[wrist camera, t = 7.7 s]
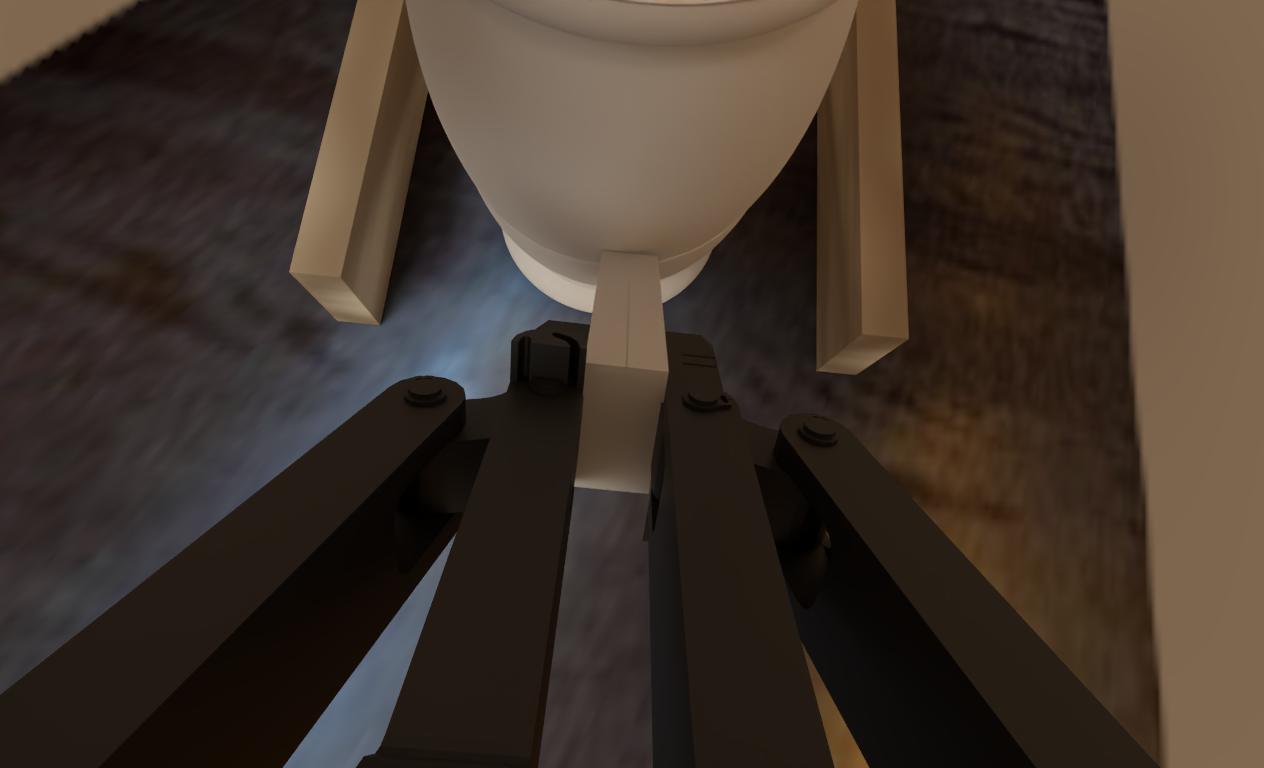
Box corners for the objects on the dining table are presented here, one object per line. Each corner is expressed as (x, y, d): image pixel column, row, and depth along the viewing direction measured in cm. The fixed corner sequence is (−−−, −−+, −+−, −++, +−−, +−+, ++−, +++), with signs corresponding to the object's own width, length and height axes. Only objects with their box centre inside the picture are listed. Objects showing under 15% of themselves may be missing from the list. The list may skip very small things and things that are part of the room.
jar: (516, 75, 26) (441, -516, 12) (760, 134, 26) (978, -378, 12) (439, 309, 23) (215, -102, 9) (715, 373, 24) (932, 73, 9)
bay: (337, 320, 23) (289, 271, 19) (418, -38, 27) (392, -136, 24) (855, 374, 24) (908, 339, 20) (850, 20, 28) (893, -64, 25)
